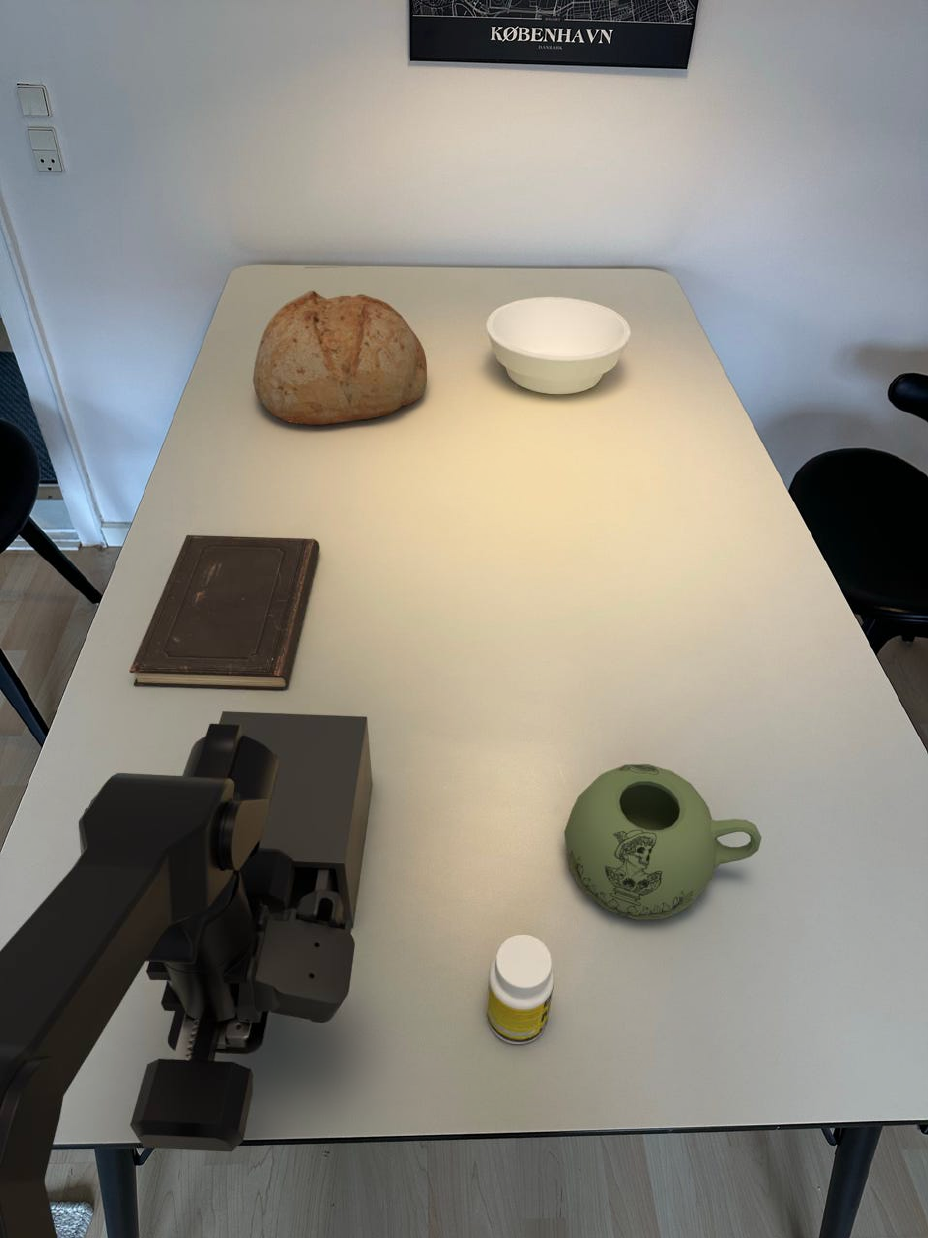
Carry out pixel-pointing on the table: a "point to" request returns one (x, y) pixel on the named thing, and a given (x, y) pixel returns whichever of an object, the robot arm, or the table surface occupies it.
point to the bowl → (557, 342)
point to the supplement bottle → (520, 989)
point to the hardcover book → (229, 614)
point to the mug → (647, 842)
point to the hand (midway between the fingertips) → (241, 1038)
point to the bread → (338, 360)
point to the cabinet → (317, 791)
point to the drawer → (306, 887)
